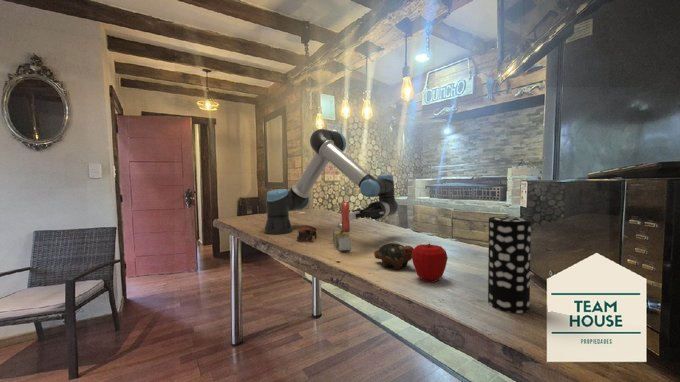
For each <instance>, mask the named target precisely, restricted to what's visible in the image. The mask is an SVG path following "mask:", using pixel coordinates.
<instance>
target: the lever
mask: <svg viewBox="0 0 680 382" xmlns="http://www.w3.org/2000/svg"><path fill="white" fill-rule="evenodd" d="M340 204H341V205H340V206H341V223H337V227H338V228H339V227H340V228H341V230H342V232H348V233H350V231H351V230H350V229H351V227H350V223H351V222H350V221H351V220H349V213H350V202H341V203H340Z"/></svg>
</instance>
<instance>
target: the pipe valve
mask: <svg viewBox="0 0 680 382" xmlns="http://www.w3.org/2000/svg"><path fill="white" fill-rule="evenodd" d="M332 241H333V246H334V248H335V249H336V250H337V251H338V252H350V251H352V237H350V232H342V230H341V228H340V227H338V229H332Z"/></svg>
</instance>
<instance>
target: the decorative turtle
mask: <svg viewBox="0 0 680 382" xmlns="http://www.w3.org/2000/svg"><path fill="white" fill-rule="evenodd" d="M414 248H415V247H413V246H411V245H405V246H404V245H403V244H399V243H396V242H388V243H386V244H382V246H380V247H379V249H378V250H375V251H374V254H373V255H374V258H375V259H378V260H381V262H382V266H384V268H389V267H390V266H391V265H392V266H393V268H394V269H395V270H396V271H399V270H401V268H402V266H403V267H407V266H408V264H409V261H411V260H412V256H411V255H412V251H413V249H414Z"/></svg>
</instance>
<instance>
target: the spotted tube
mask: <svg viewBox="0 0 680 382" xmlns="http://www.w3.org/2000/svg"><path fill="white" fill-rule="evenodd" d="M531 235H532V219H529V218H527V217H519V216H517V217H516V216H491V217H488V259H487V260H488V262H487V263H488V267H487V268H488V271H487V272H488V275H487V281H488V283H487V289H488V290H487V303H488V305H489V306H491V307H492V308H494V309H496V310H499V311H502V312H505V313H512V314H524V313H527V312H529V311H530V305H531V304H530V303H531V299H530V298H531V296H530V295H531V255H532V254H531V251H532V250H531V249H532V248H531V247H532V246H531V245H532V244H531V243H532V240H531V239H532V236H531Z"/></svg>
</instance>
